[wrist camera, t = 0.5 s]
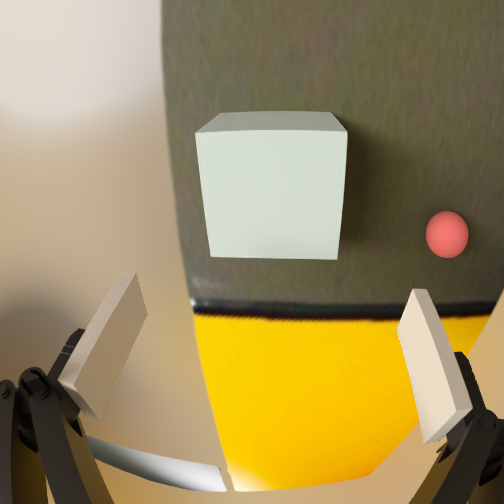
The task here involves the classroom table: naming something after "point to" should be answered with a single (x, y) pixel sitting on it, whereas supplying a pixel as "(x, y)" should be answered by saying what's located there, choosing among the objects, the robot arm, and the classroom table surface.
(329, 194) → the rounded gray box
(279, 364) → the classroom table surface
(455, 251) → the ball
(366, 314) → the classroom table surface
